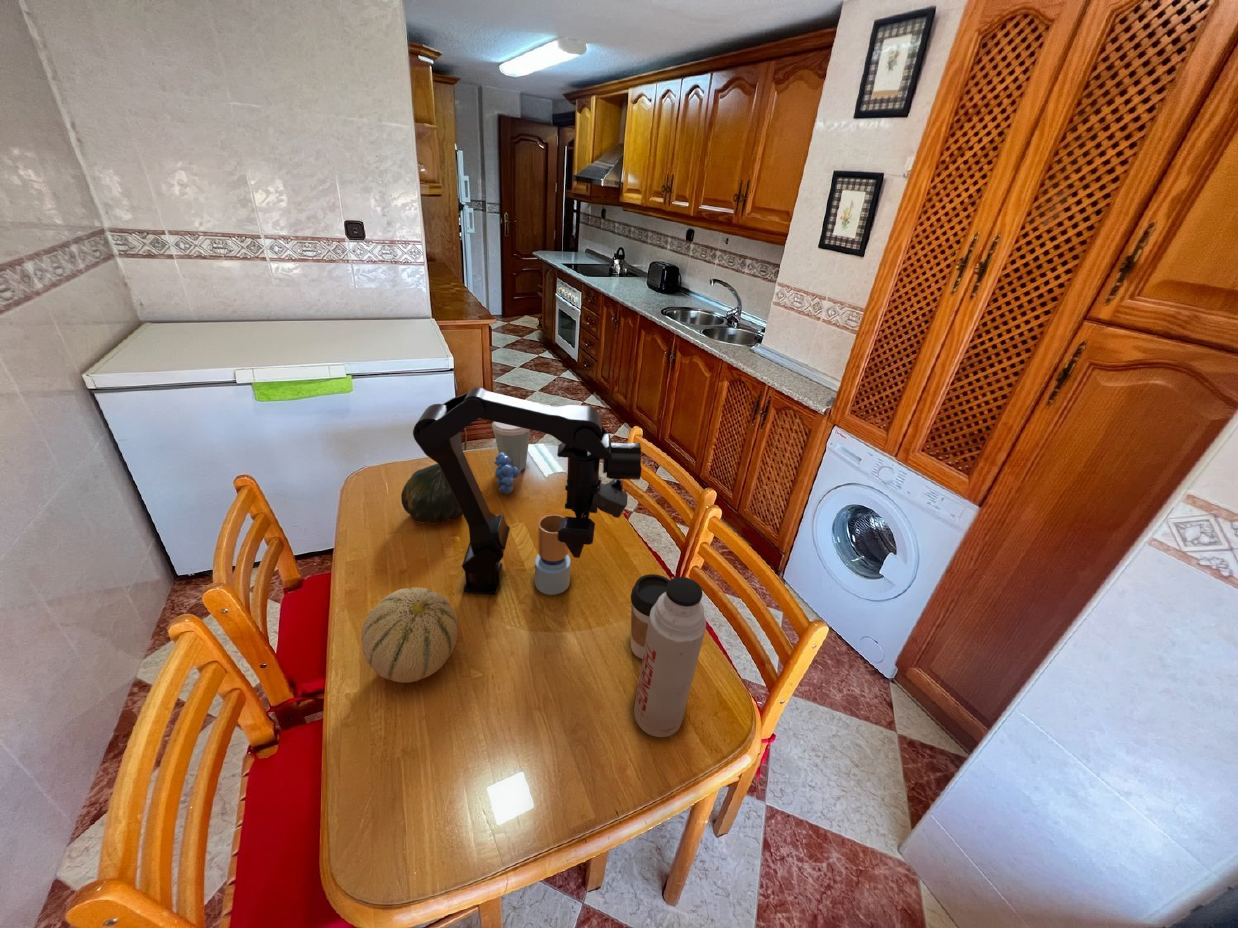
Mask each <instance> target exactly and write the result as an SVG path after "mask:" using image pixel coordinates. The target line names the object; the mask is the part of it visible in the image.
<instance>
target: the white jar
mask: <svg viewBox="0 0 1238 928" xmlns="http://www.w3.org/2000/svg"><path fill="white" fill-rule="evenodd" d="M571 562H572V561H571V557H570V556H569V553H568V554H567V556H566V557H565V558H564V559H562V560H559V561H547V560H544V559H543V558H541V557H540V555H539V553H538V554H537V556H536V557H535V559H534V584H535V588H536V589H537V590H538V591H539V592H540V593H542V594H545V595H549V596H552V595H553V596H556V595H559V594H562V593H564V592H565V591H567V589H568V588H569V586H570V583H571Z"/></svg>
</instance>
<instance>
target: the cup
mask: <svg viewBox="0 0 1238 928" xmlns="http://www.w3.org/2000/svg"><path fill="white" fill-rule="evenodd" d="M565 517H566V516H563V515H560V514H554V513H553V514H547V515H545V516H543V517H541V518H540V519H539V520H538V524H537V551H538V554H539V555H540V557H541V558H543V559H544V560H547V561H559V560H562V559H564V558H565V557H566V556H567V554H568V555H569V549H568V547H567V545H566V544H565V543H564V542H560V541H559V540H558V530H559V526H560V522H561V520H562V519H563V518H565Z"/></svg>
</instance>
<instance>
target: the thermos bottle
mask: <svg viewBox="0 0 1238 928" xmlns="http://www.w3.org/2000/svg"><path fill="white" fill-rule="evenodd" d="M669 580H670V581H669V582H668V584H667V587H666V592H665V593H663V594H662V595H661V596H660V597H659V599H658V600H657V602H656V604H655V605H654V606H653V607H652V609H651V612H650V617H649V623H648V629H647V635H646V641H645V647H644V652H643V659H641V663H642V664H641V668H640V671H639V672H640V673H639V677H638V683H637V689H636V695H635V701H634V707H633V715H634V719H635V722H636V724H637V725H638V727H639V728H640V729H641V730H642V731H643V732H644V733H646V734H647V735H650V736H652V737H655V738H667V737H670V736H672V735H674V734H676V733H677V732H678V730H679V729H680V728H681V725H682V723H683V720H684V715H685V711H686V708H687V704H688V700H689V694H690V691H691V687H692V684H693V680H694V677H695V673H696V668H697V664H698V661H699V660H698V659H699V657H700V652H701V649H702V644H703V640H704V636H705V633H706V629H707V619H706V616H705V607H704V605H703V603H702V597H703V589H702V586H701V585H700V584H699V583H698V582H697V581H695V580H694V579H693V578H689V577H686V576H677V577H674V578H671V579H669Z"/></svg>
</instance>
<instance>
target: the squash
mask: <svg viewBox="0 0 1238 928" xmlns="http://www.w3.org/2000/svg"><path fill="white" fill-rule="evenodd" d="M400 495H401V499H400V501H401V505H402V507H403V509H404V511H405V512H406V513H407V514H409V516H410V518H411V520H413V521H414V522H417V523H420V524H421V523H422V524H423V523H427V522H428V523H429V524H433V525H436V524H438V522H441V523H445V522H448V521H453V520H458V519H460V518H461V517H462V516H463V513H462V511H461V509H460V507H459V505H458V503H457V501H456V499H455V497H454V495H453V493H452V491H451V489H450V487H449V485H448V482H447V480H446V478H445V476H444V474H443V472H442V470H441V468H440V466H439V465H438V463H435V464H432V465H429V466H427V467H424V468H421V469H418V470H416V471H415V472H414V473H413V474H412V475H411V476H410V478H408V480H407V481H406V482H405V485H404V487H403V488H402V491H401V494H400Z"/></svg>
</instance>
